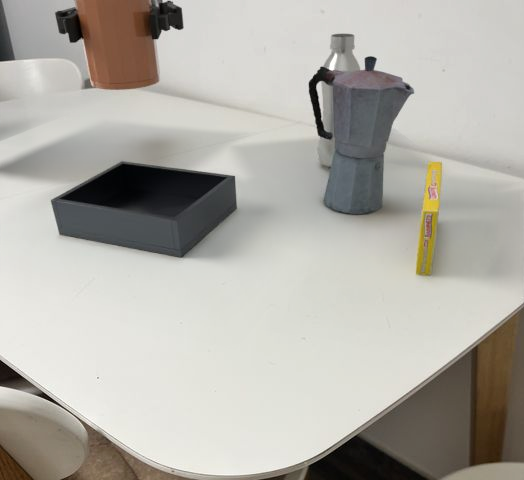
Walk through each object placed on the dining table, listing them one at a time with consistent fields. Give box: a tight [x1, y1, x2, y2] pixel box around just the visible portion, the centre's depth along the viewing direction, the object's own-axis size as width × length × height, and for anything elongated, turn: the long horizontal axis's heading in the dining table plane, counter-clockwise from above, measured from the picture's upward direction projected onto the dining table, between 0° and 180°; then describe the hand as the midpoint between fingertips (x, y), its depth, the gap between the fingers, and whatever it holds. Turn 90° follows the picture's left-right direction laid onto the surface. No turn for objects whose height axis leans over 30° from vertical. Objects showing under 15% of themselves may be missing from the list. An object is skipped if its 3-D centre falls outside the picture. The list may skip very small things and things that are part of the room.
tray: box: [50, 160, 238, 258], centre depth 81 cm, size 20×17×5 cm
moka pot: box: [308, 55, 415, 215], centre depth 79 cm, size 10×15×20 cm, turn 60°
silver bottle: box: [317, 33, 361, 168], centre depth 93 cm, size 6×7×20 cm
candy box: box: [415, 161, 443, 276], centre depth 71 cm, size 16×2×8 cm, turn 165°
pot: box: [74, 0, 161, 91], centre depth 75 cm, size 9×9×12 cm
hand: (112, 28), depth 71 cm, fingers closed on pot, 9 cm apart
